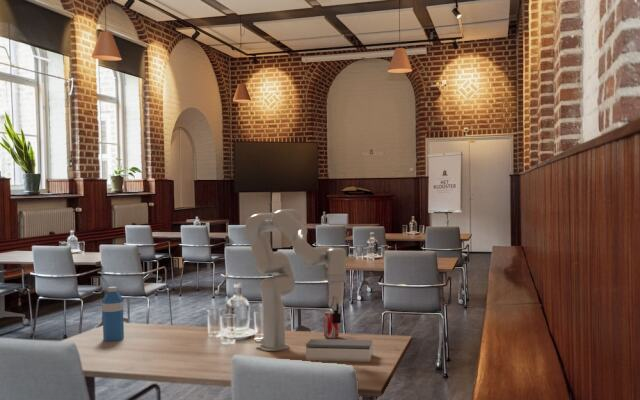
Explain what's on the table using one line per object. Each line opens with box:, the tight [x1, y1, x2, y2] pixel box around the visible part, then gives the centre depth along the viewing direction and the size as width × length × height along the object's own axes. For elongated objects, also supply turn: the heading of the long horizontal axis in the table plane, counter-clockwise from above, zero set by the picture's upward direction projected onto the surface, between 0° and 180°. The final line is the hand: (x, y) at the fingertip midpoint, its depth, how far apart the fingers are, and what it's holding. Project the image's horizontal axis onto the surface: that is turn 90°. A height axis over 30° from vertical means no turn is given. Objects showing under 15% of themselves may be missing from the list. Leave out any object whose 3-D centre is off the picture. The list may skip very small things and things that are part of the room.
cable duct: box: [305, 343, 373, 363], centre depth 260 cm, size 26×11×5 cm, turn 80°
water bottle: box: [101, 286, 125, 342], centre depth 302 cm, size 9×9×25 cm
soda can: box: [323, 310, 340, 339], centre depth 296 cm, size 7×7×12 cm
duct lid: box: [305, 338, 373, 348], centre depth 260 cm, size 26×11×1 cm, turn 80°
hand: (336, 322), depth 257 cm, fingers closed
